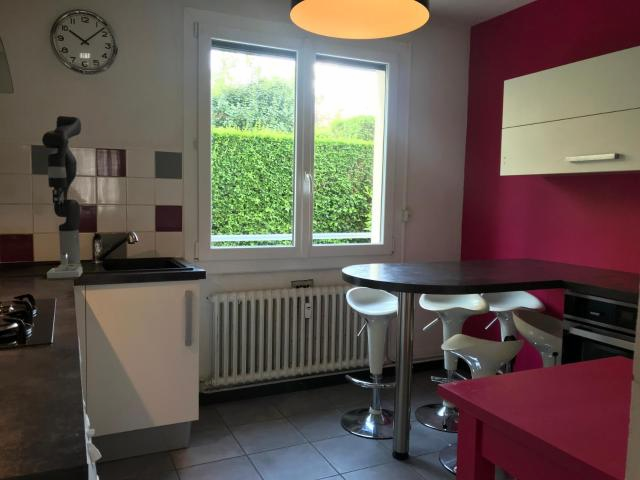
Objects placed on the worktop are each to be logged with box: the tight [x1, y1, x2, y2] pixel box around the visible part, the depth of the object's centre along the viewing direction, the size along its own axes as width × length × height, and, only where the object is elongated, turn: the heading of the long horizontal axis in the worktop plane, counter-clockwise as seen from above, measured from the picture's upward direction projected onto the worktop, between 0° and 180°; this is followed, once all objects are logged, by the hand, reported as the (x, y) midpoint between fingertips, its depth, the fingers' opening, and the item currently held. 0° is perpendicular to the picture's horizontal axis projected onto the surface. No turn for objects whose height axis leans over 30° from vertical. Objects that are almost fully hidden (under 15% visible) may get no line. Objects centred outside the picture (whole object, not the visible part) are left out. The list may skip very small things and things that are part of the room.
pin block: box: [56, 263, 82, 268], centre depth 244 cm, size 9×9×4 cm
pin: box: [61, 253, 68, 272], centre depth 232 cm, size 3×3×10 cm
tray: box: [46, 266, 83, 282], centre depth 232 cm, size 12×12×4 cm
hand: (59, 212), depth 244 cm, fingers open, 8 cm apart
